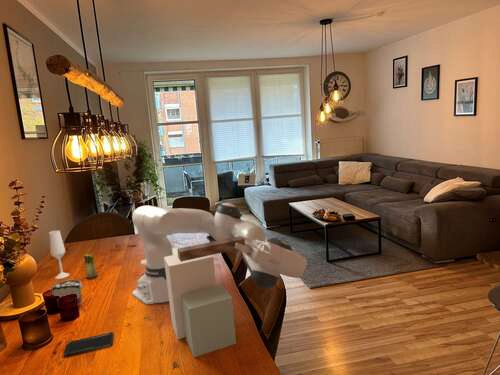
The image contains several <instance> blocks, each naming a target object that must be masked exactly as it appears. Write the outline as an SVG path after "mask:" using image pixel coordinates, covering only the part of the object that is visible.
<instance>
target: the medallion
mask: <svg viewBox="0 0 500 375" xmlns="http://www.w3.org/2000/svg"><path fill="white" fill-rule="evenodd" d="M179 248H180V247H178V246H177V247H172V252H173V255H176V254H178V250H177V249H179ZM140 264H141V265H147V262H146V258H145V259H142V260H140Z"/></svg>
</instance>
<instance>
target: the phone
mask: <svg viewBox="0 0 500 375" xmlns="http://www.w3.org/2000/svg"><path fill="white" fill-rule="evenodd" d="M114 333H115V332H107V333H103V334H99V335H93V336H90V337H86V338H80V339H75V340H72V341H68V342H67V343H66V345H65V348H64V351H63V354H62V355H63V357H64V358H67V357H72V356H76V355H81V354H85V353H89V352H93V351H97V350H101V349H105V348H110V347H112V346H113V345H114V337H115V334H114Z"/></svg>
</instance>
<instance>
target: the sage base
mask: <svg viewBox="0 0 500 375" xmlns="http://www.w3.org/2000/svg"><path fill="white" fill-rule="evenodd" d="M181 298H182V306H183V315H184V323H185V332H186V337H185V339H186V342H187V345H188V347H189V350H190V352H191V354H192V356H193V358H197V357H199V356H202V355H205V354H208V353H212V352H215V351H218V350H221V349H224V348H227V347H231V346H233V345H237V337H236V336H237V335H236V326H235V317H234V316H235V314H234V313H235V312H234V305H233V297H232V295H230V293H229V292H228V290H227V289H226V288H225V287H224V286H223V285H218V286H216V287H214V288H210V289H206V290H202V291H198V292H194V293H190V294H186V295H182V296H181Z"/></svg>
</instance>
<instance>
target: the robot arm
mask: <svg viewBox="0 0 500 375" xmlns="http://www.w3.org/2000/svg"><path fill="white" fill-rule="evenodd" d="M242 217H243V214H242V213H241V211H240V209H239V208H238V207H237V205H234V204H233V203H230V202H221V203H218V205H217V207H216V210H215V213H214V215H213V214H212V213H211V212H209V211H206V210H203V209H196V208H183V207H181V208H167V207H159V206H155V205H154V206H153V205H142V206H139V207H137V208H135V210H134V211H133V213H132V216H131V218H132V219H131V220H132V223H133V225H134V226H135V227H136V230H137V232H138V234H139V238H140V239H141V242H142V245H143V248H144V254H145V259H146V262H147V264H145V265H144V266H143V269H144V270H145V271H144V274H143V275H141V277H140V278H138V280H137V281H136V282H137V283H136V286H137V288H135V289H134V290H133V291H132V296H133V297H135V298H137V299H138V300H140V302H142V303H143V304H145V305H147V306H148V305H153V304H160V303H161V304H162V303H167V302H169V296H168V287H167V279H166V271H165V263H164V257H166V256H171V255H173V252H172V248H173V245H172V242H171V241H170V240H169V238H168V236H172V235H176V234H199V233H202V234H203V233H204V234H208V235H206V239H207V240H208V243H209V242H213V241H218V240H223V239H228V238H233V237H238V236H241V237H243V238H244V239H245V245H242V244H240V243H237V242H235V243H234V245H233V246H234V248H236V249H237V250H239V251H240V252H242V253H241V255H242V259H243V261H244V263H245V266H246V267H247V269H248V271H249V273H250V277H251V278H250V279H251V281H252V282H253V283H254V284H255V285H257V286H258V287H260V288H261V289H264V290H268V289H272V288H274V287H275V286H277V284H278V281H279V277H280V275H282V276H286V277H290V278H295V279H299V278H300V279H301V277H302V276H303V275H304V274H305V272H306V269H307V267H308V262H307V258H305V257H304V256H302V255H300V254H299V253H297V252H295V251H293V249H292V248H293V247H291V245H290V244H289V243H288V242H286V241H283V240H280V239H278V238H276V237H272V238H269V239H267V240H266V234H265V231H264V230H263V229H262V228H261V227H260V226H259V225H258V224H256V223H254V222H252V221H248V220H243V219H241V218H242Z"/></svg>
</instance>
